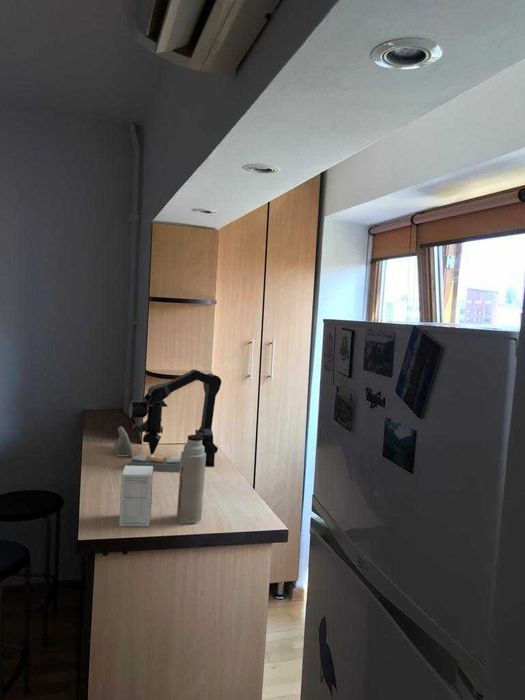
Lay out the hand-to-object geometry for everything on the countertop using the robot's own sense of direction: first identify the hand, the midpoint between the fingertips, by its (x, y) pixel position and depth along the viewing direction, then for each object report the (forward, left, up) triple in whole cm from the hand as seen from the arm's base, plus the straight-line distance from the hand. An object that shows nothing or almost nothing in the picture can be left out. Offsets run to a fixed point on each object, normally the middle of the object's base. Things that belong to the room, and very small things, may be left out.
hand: (152, 453), depth 228 cm
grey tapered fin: (+14, -20, -7) cm, 25 cm away
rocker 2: (-9, 0, -2) cm, 9 cm away
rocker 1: (+5, 0, -2) cm, 5 cm away
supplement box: (-1, +53, -6) cm, 53 cm away
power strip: (-2, -2, -6) cm, 7 cm away
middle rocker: (-2, 0, -2) cm, 3 cm away
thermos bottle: (-18, +50, -6) cm, 54 cm away
